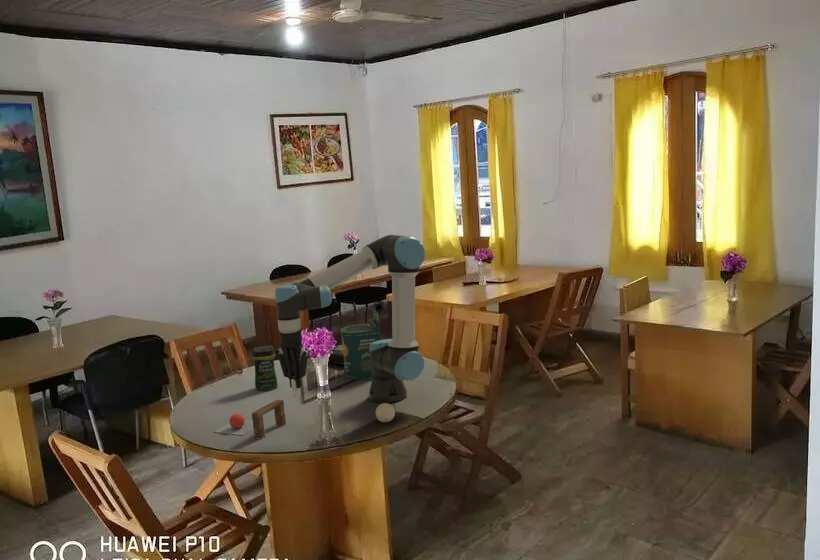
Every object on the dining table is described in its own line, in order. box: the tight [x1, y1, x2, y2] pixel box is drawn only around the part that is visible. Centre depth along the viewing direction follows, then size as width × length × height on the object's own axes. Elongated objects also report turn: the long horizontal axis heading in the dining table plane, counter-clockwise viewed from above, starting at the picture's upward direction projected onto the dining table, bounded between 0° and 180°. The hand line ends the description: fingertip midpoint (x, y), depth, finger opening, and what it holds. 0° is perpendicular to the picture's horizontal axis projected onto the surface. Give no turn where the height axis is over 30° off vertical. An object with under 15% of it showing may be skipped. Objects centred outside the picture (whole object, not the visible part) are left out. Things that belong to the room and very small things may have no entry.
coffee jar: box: [251, 345, 279, 391], centre depth 301 cm, size 10×8×19 cm
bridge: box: [251, 399, 287, 440], centre depth 250 cm, size 3×14×9 cm, turn 154°
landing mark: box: [213, 419, 253, 436], centre depth 257 cm, size 13×13×1 cm
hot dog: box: [328, 344, 344, 366], centre depth 332 cm, size 18×11×8 cm, turn 49°
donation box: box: [340, 307, 381, 381], centre depth 311 cm, size 16×16×28 cm
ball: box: [228, 413, 246, 429], centre depth 255 cm, size 6×6×6 cm
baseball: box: [375, 402, 396, 423], centre depth 251 cm, size 7×7×7 cm
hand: (296, 396), depth 243 cm, fingers closed
